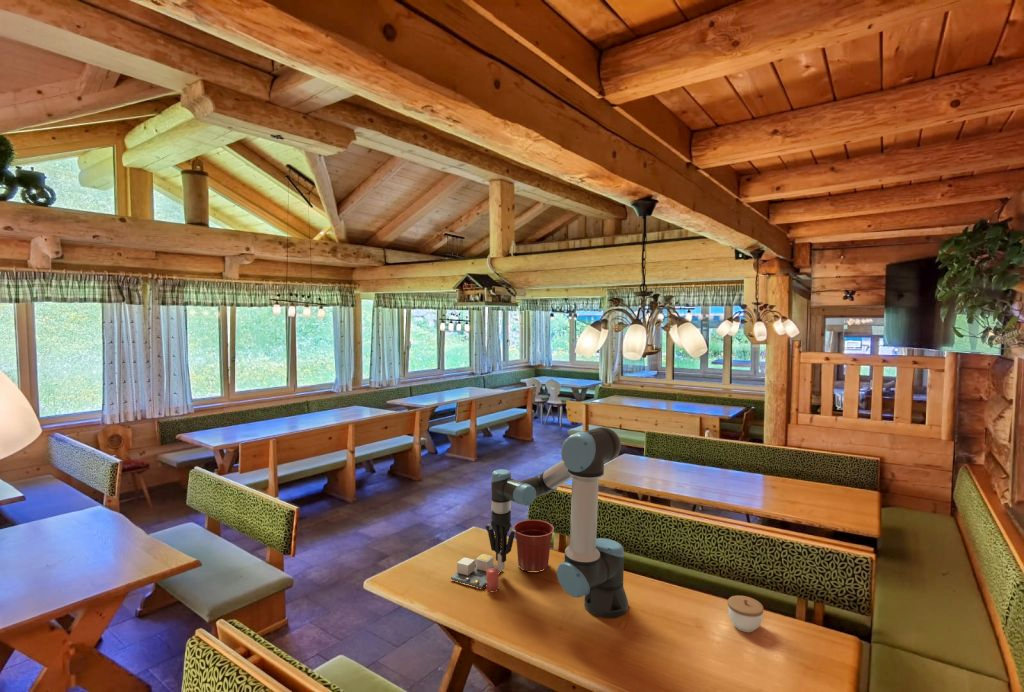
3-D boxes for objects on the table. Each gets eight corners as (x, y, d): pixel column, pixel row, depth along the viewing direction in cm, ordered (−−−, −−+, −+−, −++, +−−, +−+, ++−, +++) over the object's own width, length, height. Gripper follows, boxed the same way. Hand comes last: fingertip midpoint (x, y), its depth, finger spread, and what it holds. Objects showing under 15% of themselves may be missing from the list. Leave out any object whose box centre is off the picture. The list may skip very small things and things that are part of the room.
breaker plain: (474, 569, 204) (474, 560, 204) (467, 575, 200) (467, 565, 199) (464, 566, 206) (464, 557, 206) (457, 572, 202) (457, 562, 202)
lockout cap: (500, 587, 195) (500, 569, 194) (494, 593, 191) (494, 574, 190) (490, 584, 197) (490, 566, 196) (484, 590, 193) (484, 572, 192)
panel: (502, 571, 207) (502, 565, 207) (482, 589, 193) (482, 584, 193) (473, 563, 213) (473, 557, 213) (450, 580, 199) (450, 575, 199)
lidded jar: (742, 639, 164) (743, 610, 163) (720, 620, 174) (720, 593, 174) (770, 633, 167) (771, 605, 166) (747, 615, 177) (747, 588, 177)
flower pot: (560, 563, 214) (561, 525, 213) (541, 580, 200) (541, 539, 199) (526, 553, 222) (526, 516, 221) (505, 569, 208) (505, 530, 207)
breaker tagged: (493, 566, 207) (493, 556, 207) (487, 571, 203) (487, 561, 202) (482, 563, 209) (482, 553, 209) (476, 568, 205) (476, 558, 205)
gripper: (520, 510, 201) (520, 568, 203) (491, 504, 207) (491, 561, 209) (511, 516, 195) (511, 577, 196) (481, 510, 201) (481, 569, 202)
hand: (501, 569), depth 203 cm, fingers closed
